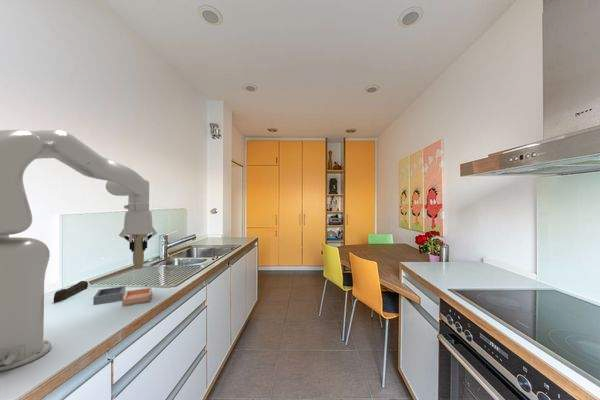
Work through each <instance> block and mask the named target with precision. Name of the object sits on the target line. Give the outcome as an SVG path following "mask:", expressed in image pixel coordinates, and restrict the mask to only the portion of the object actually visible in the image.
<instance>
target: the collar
mask: <svg viewBox="0 0 600 400" xmlns="http://www.w3.org/2000/svg"><path fill="white" fill-rule="evenodd" d="M125 293H126V285H124V286H115V287H109V288H100V289H98V291H97V292H96V293H95V294H94V296H93V298H92V299H93V301H92V303H93V304H92V305H93V306H94V305H95V306H96V305H101V304H107V303H114V302H120V301H122V300H123V297H124V295H125Z"/></svg>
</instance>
